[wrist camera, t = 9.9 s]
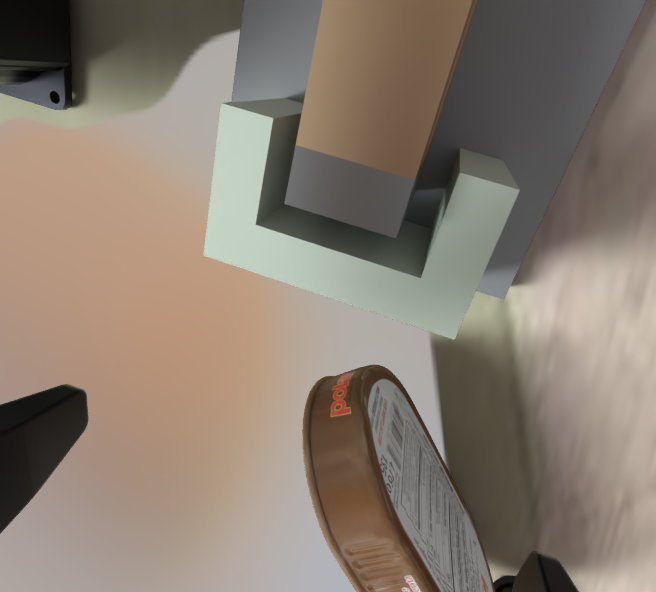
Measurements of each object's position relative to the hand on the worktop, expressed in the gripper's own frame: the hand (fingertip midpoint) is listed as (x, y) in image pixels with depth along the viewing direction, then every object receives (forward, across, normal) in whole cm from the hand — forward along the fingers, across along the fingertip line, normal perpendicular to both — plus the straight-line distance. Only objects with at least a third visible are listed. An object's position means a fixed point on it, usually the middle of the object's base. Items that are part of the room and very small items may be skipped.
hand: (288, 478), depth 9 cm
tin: (+12, -4, +10) cm, 16 cm away
